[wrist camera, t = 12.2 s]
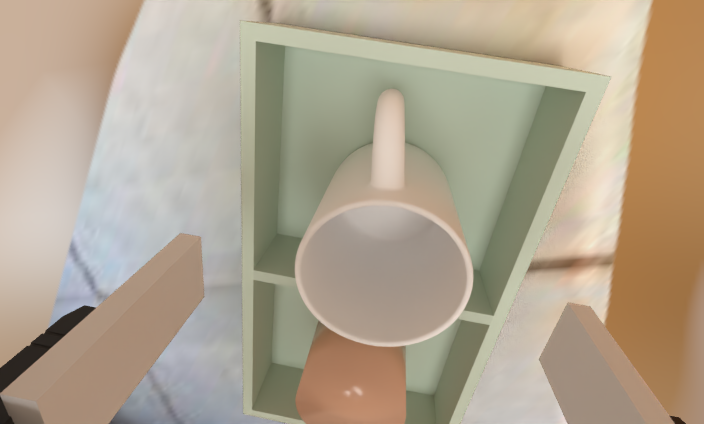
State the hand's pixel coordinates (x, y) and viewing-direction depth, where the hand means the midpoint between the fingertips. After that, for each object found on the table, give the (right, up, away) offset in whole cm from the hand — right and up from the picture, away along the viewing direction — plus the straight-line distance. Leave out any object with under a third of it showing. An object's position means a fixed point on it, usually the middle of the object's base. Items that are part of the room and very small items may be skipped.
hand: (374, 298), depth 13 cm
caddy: (+1, 0, +16) cm, 16 cm away
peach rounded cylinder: (0, -7, +19) cm, 20 cm away
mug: (+2, +6, +12) cm, 14 cm away
